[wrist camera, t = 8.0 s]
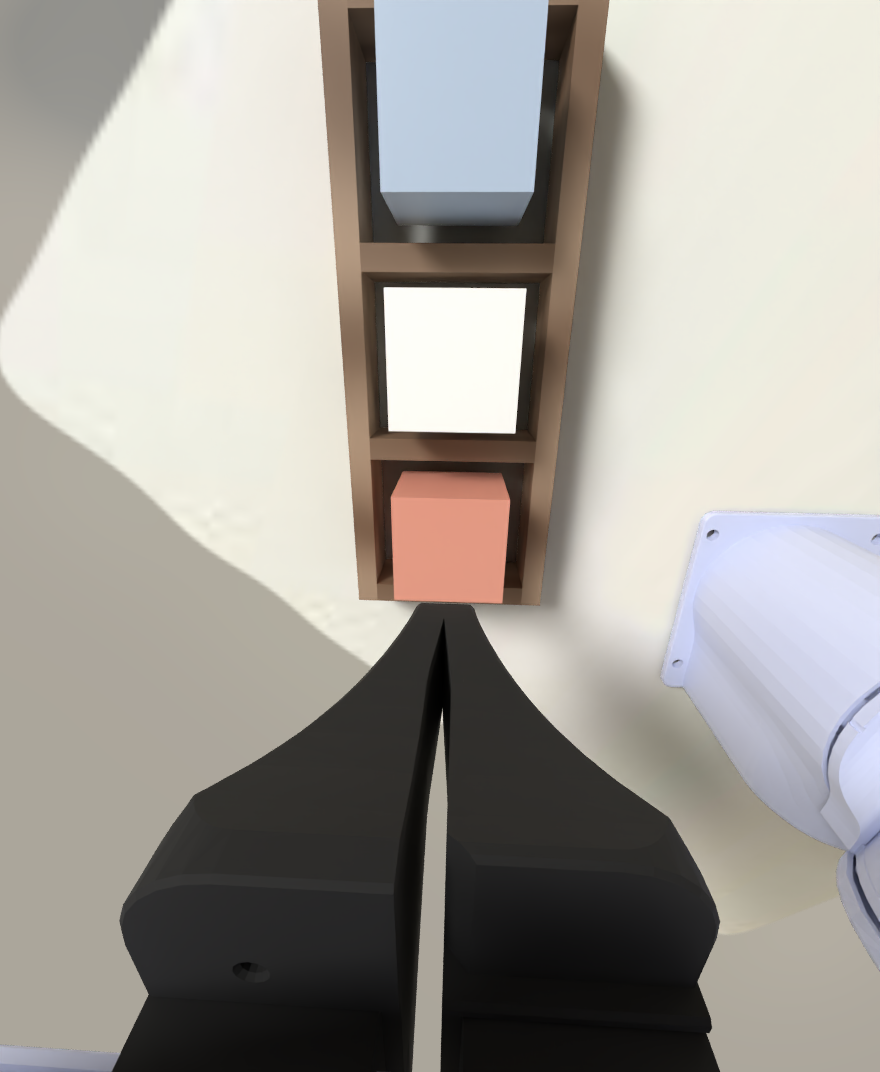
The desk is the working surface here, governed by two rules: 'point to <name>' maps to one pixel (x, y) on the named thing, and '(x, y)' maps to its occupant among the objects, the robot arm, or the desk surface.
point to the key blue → (459, 108)
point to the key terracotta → (449, 536)
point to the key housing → (552, 264)
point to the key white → (453, 358)
